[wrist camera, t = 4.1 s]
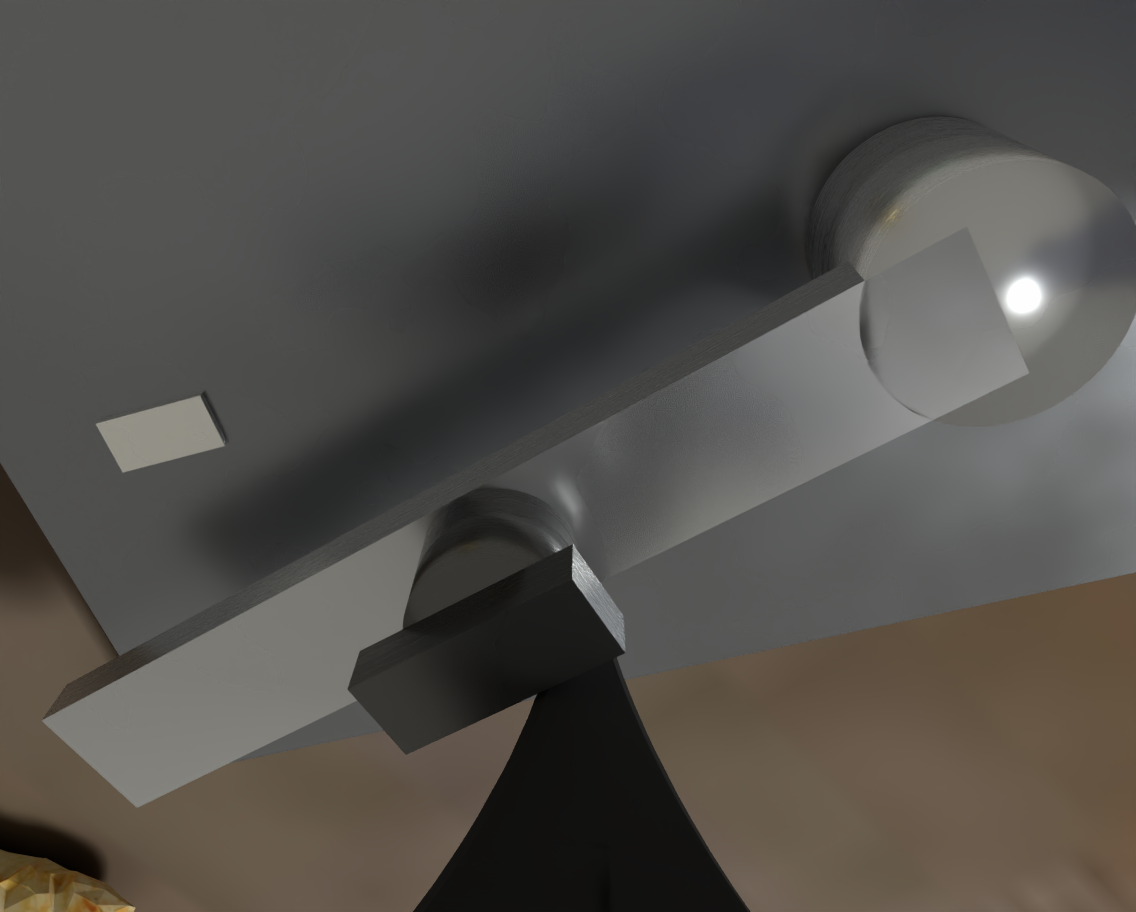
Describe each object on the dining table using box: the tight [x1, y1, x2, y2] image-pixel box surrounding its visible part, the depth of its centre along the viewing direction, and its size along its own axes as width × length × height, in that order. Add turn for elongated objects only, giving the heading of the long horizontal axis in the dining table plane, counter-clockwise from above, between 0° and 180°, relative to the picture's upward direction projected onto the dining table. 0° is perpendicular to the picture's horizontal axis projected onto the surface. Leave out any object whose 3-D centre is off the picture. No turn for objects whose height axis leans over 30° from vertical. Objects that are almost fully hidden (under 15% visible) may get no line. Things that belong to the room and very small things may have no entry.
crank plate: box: [0, 0, 1136, 763], centre depth 11 cm, size 22×18×3 cm
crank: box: [42, 117, 1136, 808], centre depth 12 cm, size 14×3×5 cm, turn 121°
